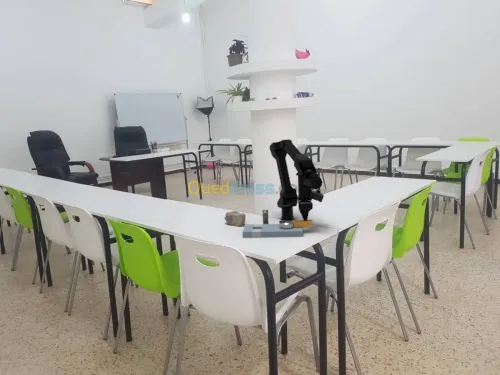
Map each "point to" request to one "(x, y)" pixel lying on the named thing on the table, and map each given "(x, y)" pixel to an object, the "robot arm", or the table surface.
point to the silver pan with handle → (295, 224)
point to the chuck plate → (270, 231)
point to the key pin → (265, 216)
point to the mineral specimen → (235, 218)
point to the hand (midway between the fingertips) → (305, 219)
